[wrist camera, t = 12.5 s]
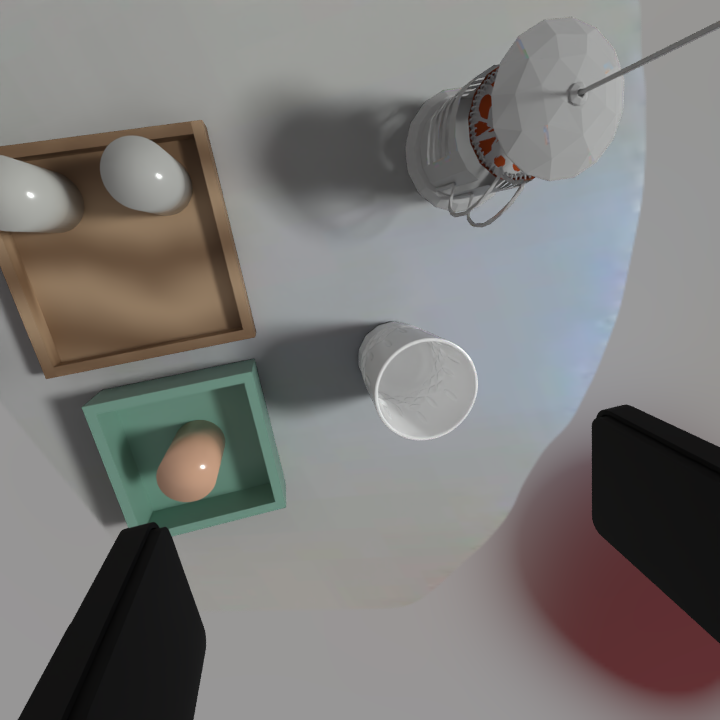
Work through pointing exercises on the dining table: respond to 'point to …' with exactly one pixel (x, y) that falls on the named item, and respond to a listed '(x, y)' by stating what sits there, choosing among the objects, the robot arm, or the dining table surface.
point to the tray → (127, 263)
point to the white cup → (417, 380)
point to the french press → (523, 117)
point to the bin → (157, 430)
